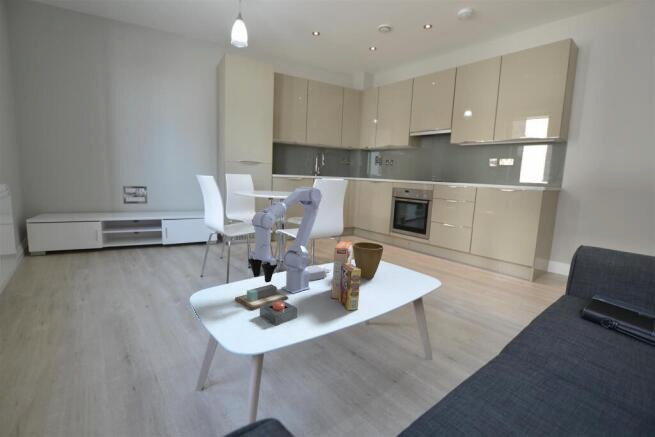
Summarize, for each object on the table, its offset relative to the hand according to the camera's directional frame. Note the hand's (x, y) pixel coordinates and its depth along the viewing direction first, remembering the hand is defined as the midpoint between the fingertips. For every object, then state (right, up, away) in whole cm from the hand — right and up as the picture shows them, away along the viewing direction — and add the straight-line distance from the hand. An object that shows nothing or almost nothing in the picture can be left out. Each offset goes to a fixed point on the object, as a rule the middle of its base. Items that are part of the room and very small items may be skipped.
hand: (262, 279), depth 119 cm
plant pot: (+44, -6, +35) cm, 56 cm away
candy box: (+33, -10, -1) cm, 34 cm away
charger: (+20, -5, +32) cm, 38 cm away
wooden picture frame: (0, -8, +1) cm, 8 cm away
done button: (+8, -8, -13) cm, 17 cm away
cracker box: (+31, -8, +11) cm, 34 cm away
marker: (0, -7, +1) cm, 7 cm away
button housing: (+8, -10, -13) cm, 18 cm away
